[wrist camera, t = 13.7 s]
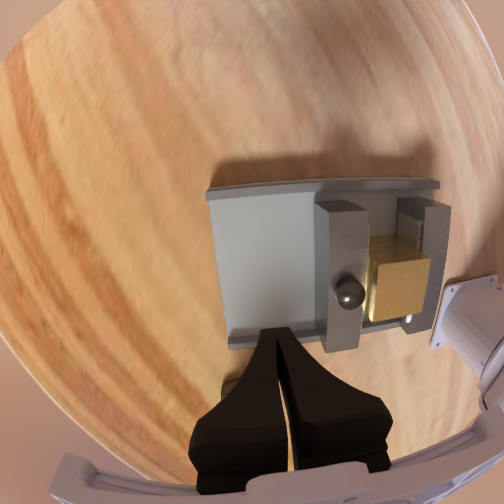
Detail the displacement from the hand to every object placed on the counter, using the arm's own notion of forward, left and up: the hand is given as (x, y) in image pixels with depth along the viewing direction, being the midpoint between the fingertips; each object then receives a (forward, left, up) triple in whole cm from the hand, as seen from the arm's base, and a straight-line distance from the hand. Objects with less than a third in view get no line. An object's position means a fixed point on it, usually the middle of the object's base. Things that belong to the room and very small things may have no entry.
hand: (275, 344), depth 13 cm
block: (-9, 0, -9) cm, 12 cm away
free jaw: (-5, 0, -9) cm, 10 cm away
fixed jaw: (-12, 0, -10) cm, 16 cm away
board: (-6, 0, -10) cm, 11 cm away
